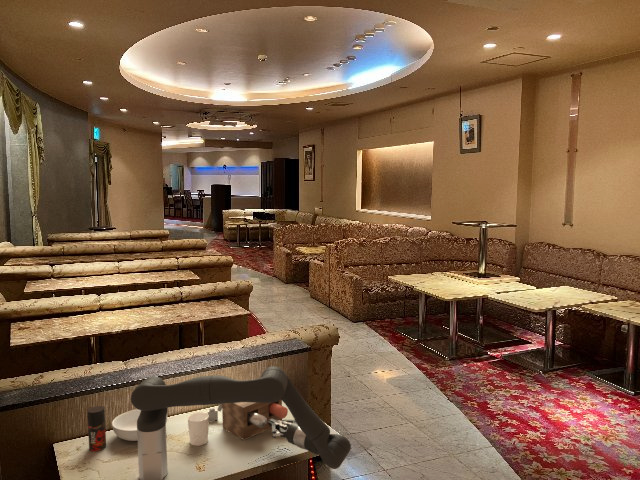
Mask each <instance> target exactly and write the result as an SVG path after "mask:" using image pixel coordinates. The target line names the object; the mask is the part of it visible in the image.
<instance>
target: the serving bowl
mask: <svg viewBox="0 0 640 480" xmlns="http://www.w3.org/2000/svg"><path fill="white" fill-rule="evenodd" d="M140 412H141V410H139V409H137V408H135V409H132V410H131V409H130V410H129V411H126V412H123V413H121V414H119V415H117V416H116V417H115V418H114V419H113V420H112V422H111V427H112V430H113V432H114V434H115V435H116V436H117V437H118V438H120V439H122V440H124V441H131V442H132V441H137V442H138V439H137V419H138V417H139V415H140ZM167 421H168V414H167V417H166V423H167Z"/></svg>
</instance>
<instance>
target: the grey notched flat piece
mask: <svg viewBox="0 0 640 480" xmlns="http://www.w3.org/2000/svg"><path fill="white" fill-rule="evenodd" d="M221 411H222V404H218V406H217V408H215V407H210V408H209V409H208V410H207V412H206V413H207V414H208V415H209V421H212V422H216V421H215V420H218V421H219V413H218V412H221Z"/></svg>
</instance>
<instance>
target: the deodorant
mask: <svg viewBox="0 0 640 480" xmlns="http://www.w3.org/2000/svg"><path fill="white" fill-rule="evenodd" d="M86 411H87V412H86V413H87V416H86V417H87V430H88V449H89V451H90V452H95V453H96V452H99V451H102V450H104V449H106V448H107V434H106V433H107V432H106V431H107V430H106V429H107V428H106V411H105V406H104V405H103V406H102V405H95V406H92V407H89V408H88V409H86Z"/></svg>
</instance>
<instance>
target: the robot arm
mask: <svg viewBox="0 0 640 480" xmlns="http://www.w3.org/2000/svg"><path fill="white" fill-rule="evenodd" d="M280 399H281V400H282V403H284V404H285V407H286V408H287V409H288V411H289V412H290V414H291V415H292V417H293V419H286V418H283V419H282V421H277V420H275V419H270V420H269V426H271V435H272V439H276V438H277V437H281V438H284V439H286V441H287V443H289V444H292V445H293V446H295V447H297V448H300V449H303V450H306V451H308V452H310V453H312V454H314V455H318V456H319V457H320V458H321V460H322V462H323V463H324V465H325V466H326V467H328V468H329V469H331V470H336V469H339V468H340V467H341V466H342V464H343V462H344V461H345V460H346V458H347V456H348V455H349V453H350V452H351V449H352V444H351V442H350V439H348V438H347V437H345V436H343V435H342V434H338V433H331V429H330V427H329V426H328V425H327V424H326V423H325V422H324V420H323V419H322V418H320V416H319V415H318V414H317V413H316V412H315V411H314V410H313V408H312V407H311V406H310V405H309V404H308V403H307V401H306V400H305V399H304V398H303V396H302V395H301V393H300V392H299V391H298V389H297V387H296V386H295V385H294V384H293V382H292V380H291V379H290V377H289V376H288V375H287V373H286V372H285V370H284V369H282V368H281V367H278V366H274V365H273V366H268V367H267V368H265V369H264V370H263V371H262V373H261V376H260V378H255V379H248V380H247V379H244V380H243V379H242V380H239V379H235V378H231V377H230V376H225V375H221V374H218V375H217V374H216V375H215V374H213V375H212V374H211V375H202V376H196V377H193V378H188V379H186V380H183V381H181V382H177V383H174V384H166V382H165V381H164V379H162V378H161V377H159V376H155V375H154V376H149V377H147V378H145V379H144V380H143V381H142V382H140V383H138V385H137V386H136V387H135V388H133V390H132V392H131V395H130V403H131V404H132V406H133V407H134V408H135V409H139V410H141V412H140V415H139V417H138V419H137V439H138V440H137V458H138V478H139V480H163V479H164V478H165V477H166V476H167V475H168V473H169V472H168V450H167V449H168V447H167V422H166V417H167V418H168V416H167V415H168V408H174V407H175V408H176V407H190V406H191V407H192V406H194V407H195V406H210V405H211V406H212V405H219V404H223V403H238V402H256V403H273V402H277V401H279V400H280Z"/></svg>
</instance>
